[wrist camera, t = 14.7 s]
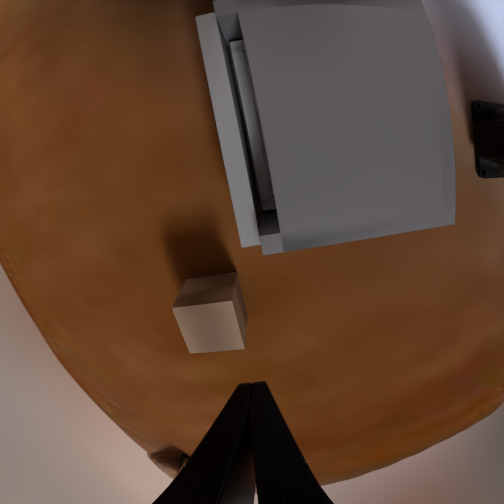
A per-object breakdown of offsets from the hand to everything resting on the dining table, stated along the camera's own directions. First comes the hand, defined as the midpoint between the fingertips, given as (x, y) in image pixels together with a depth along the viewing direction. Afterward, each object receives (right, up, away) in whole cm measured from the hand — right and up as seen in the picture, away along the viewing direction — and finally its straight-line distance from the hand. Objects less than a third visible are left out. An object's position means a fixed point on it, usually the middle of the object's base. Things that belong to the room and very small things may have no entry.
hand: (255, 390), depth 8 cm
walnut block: (-3, +1, +14) cm, 14 cm away
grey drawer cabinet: (+5, +13, +8) cm, 16 cm away
